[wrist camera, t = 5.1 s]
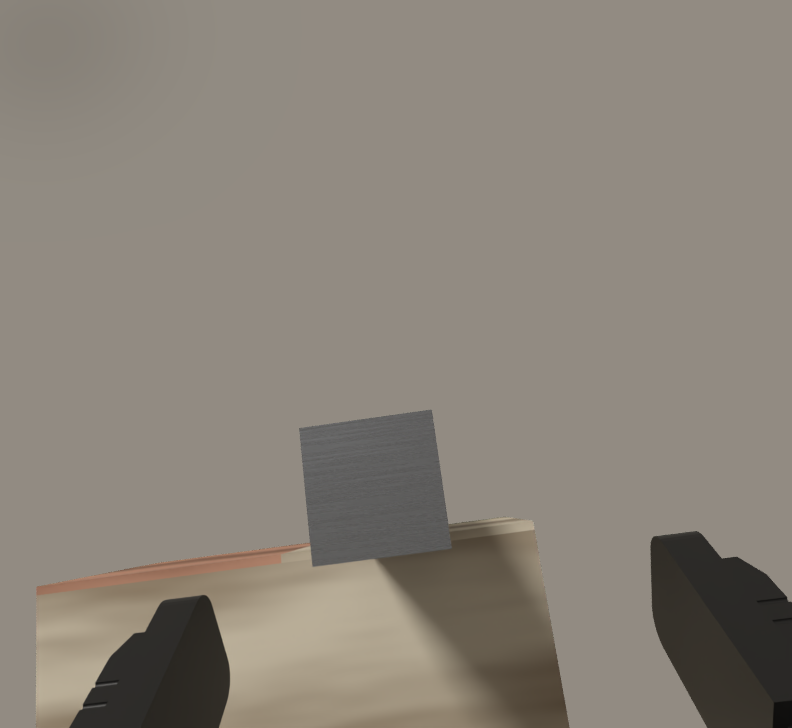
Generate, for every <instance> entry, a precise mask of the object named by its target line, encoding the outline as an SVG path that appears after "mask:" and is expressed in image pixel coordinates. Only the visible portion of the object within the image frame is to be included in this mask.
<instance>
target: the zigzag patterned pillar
mask: <svg viewBox="0 0 792 728" xmlns="http://www.w3.org/2000/svg"><path fill="white" fill-rule="evenodd" d="M448 526H449V533H450V540H451V546H452V549H446V550H438V551H431V552H423V553H416V554H408V555H400V556H393V557H385V558H378V559H370V560H362V561H355V562H347V563H339V564H332V565H324V566H317V567H312V557H311V547H310V543H305V544H297V545H289V546H282V547H274V548H267V549H259V550H252V551H244V552H237V553H229V554H222V555H214V556H207V557H199V558H192V559H185V560H176V561H169V562H161V563H155V564H151V565H145V566H140V567H135V568H130V569H125V570H120V571H115V572H109V573H105V574H99V575H94V576H89V577H84V578H79V579H74V580H69V581H64V582H58V583H53V584H48V585H43V586H38V587H37V617H36V618H37V620H36V622H37V623H36V728H69V727H70V725H71V724H72V722H73V720H74V719H75V717H76V715H77V713H78V712H79V710H82V709H83V703H84V701H85V699H86V698H87V696H88V694H89V692H90V691H91V689H92V688H95V682H96V680H97V679H98V677H99V675H100V673H101V672H102V670H103V668H104V666H105V665H106V663H107V661H108V659H109V658H110V656H111V655H112V654H113V653H114V652H115V651H116V650H117V649H118V648H120V647H121V646H122V645H123V644H124V643H125V642H126V641H127V640H128V639H129V638H130V637H131V636H132V635H133V634H134V633H141V632H145V631H146V629H147V627H148V625H149V623H150V621H151V619H152V617H153V616H154V614H155V612H156V610H157V608H158V606H159V605H160V603H161V602H162V601H164V600H168V599H176V598H183V597H191V596H199V595H206V596H208V598H209V599H210V601H211V603H212V606H213V610H214V613H215V617H216V620H217V623H218V627H219V630H220V634H221V637H222V641H223V644H224V647H225V651H226V654H227V658H228V662H229V667H230V689H229V696H228V700H227V704H226V707H225V710H224V713H223V716H222V720H221V723H220V726H219V728H569V722H568V717H567V711H566V705H565V700H564V694H563V688H562V683H561V677H560V672H559V666H558V660H557V654H556V649H555V643H554V637H553V632H552V626H551V620H550V615H549V609H548V604H547V598H546V593H545V586H544V581H543V575H542V569H541V564H540V558H539V552H538V547H537V541H536V536H535V530H534V524H533V521H530V520H523V519H516V518H509V517H500V518H492V519H485V520H478V521H470V522H462V523H455V524H448Z"/></svg>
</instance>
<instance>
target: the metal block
mask: <svg viewBox="0 0 792 728" xmlns="http://www.w3.org/2000/svg"><path fill="white" fill-rule="evenodd" d="M299 430H300V441H301V451H302V462H303V472H304V483H305V494H306V504H307V515H308V525H309V536H310V547H311V557H312V567H317V566H324V565H332V564H339V563H347V562H355V561H362V560H370V559H378V558H385V557H393V556H400V555H408V554H416V553H423V552H431V551H438V550H446V549H452V546H451V540H450V533H449V526H448V519H447V512H446V505H445V498H444V491H443V485H442V478H441V471H440V464H439V457H438V450H437V443H436V436H435V430H434V423H433V416H432V410H426V411H419V412H412V413H405V414H398V415H390V416H383V417H376V418H369V419H362V420H355V421H348V422H340V423H333V424H327V425H319V426H312V427H305V428H299Z"/></svg>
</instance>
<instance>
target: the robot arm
mask: <svg viewBox="0 0 792 728" xmlns="http://www.w3.org/2000/svg"><path fill="white" fill-rule="evenodd" d="M651 582H652V611H653V618H654V622H655V627H656V630H657V633H658V636H659V639H660V641H661V643H662V646H663V648H664V649H665V651H666V653H667V655H668V657H669V659H670V660H671V662H672V664H673V666H674V668H675V670H676V671H677V673H678V675H679V677H680V679H681V680H682V682H683V684H684V686H685V688H686V689H687V691H688V693H689V695H690V697H691V699H692V701H693V702H694V704H695V706H696V708H697V710H698V711H699V713H700V715H701V717H702V719H703V721H704V722H705V724H706V726H707V728H792V602H788V600H787V597H786V596H785V595H784V593H783V592H782V591H781V590H780V589H779V588H778V587H777V586H776V585H775V583H774V582H773V581H772V580H771V579H770V578H769V577H768V576H767V575H766V574H765V573H763V572H761V571H760V570H758V569H757V568H755V567H753V566H752V565H750V564H748V563H746V562H745V561H743V560H742V559H740V558H738V557H731V558H723V559H722V558H721V557H720V556H719V555H718V554H717V552H716V551H715V550H714V549H713V547H712V546H711V545H710V544H709V543H708V541H707V540H706V539H705V538H704V536H703V535H702V534H701V533H699V532H697V531H695V532H686V533H678V534H671V535H662V536H655V537H653V538H652V541H651ZM229 689H230V667H229V662H228V658H227V654H226V651H225V647H224V644H223V641H222V637H221V634H220V630H219V627H218V623H217V620H216V617H215V613H214V610H213V606H212V603H211V601H210V599H209V598H208V596H206V595H199V596H191V597H183V598H176V599H168V600H164V601H162V602H161V603H160V605H159V606H158V608H157V610H156V612H155V614H154V616H153V617H152V619H151V621H150V623H149V625H148V627H147V629H146V631H145V632H141V633H134V634H133V635H132V636H131V637H130V638H129V639H128V640H127V641H126V642H125V643H124V644H123V645H122V646H121V647H120V648H118V649H117V650H116V651H115V652H114V653H113V654H112V655H111V656H110V658H109V659H108V661H107V663H106V665H105V666H104V668H103V670H102V672H101V673H100V675H99V677H98V679H97V680H96V682H95V688H92V689H91V691H90V692H89V694H88V696H87V698H86V699H85V701H84V703H83V709H82V710H79V712H78V713H77V715H76V717H75V719H74V720H73V722H72V724H71V725H70V727H69V728H219V726H220V723H221V720H222V716H223V713H224V710H225V707H226V704H227V700H228V696H229Z"/></svg>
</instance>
